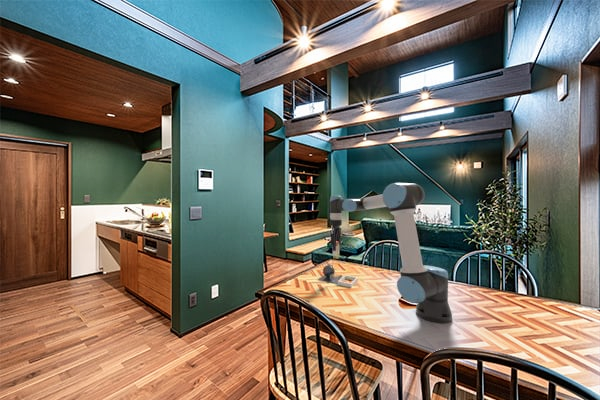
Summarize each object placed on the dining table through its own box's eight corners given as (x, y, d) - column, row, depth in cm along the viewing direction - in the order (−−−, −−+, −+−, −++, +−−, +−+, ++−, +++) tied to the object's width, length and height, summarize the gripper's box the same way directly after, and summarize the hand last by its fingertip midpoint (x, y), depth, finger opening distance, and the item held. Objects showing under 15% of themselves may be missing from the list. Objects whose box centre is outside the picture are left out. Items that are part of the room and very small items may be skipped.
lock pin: (337, 259, 156) (337, 242, 155) (332, 258, 157) (332, 241, 157) (339, 258, 158) (339, 241, 158) (334, 257, 160) (334, 240, 160)
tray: (351, 288, 147) (351, 283, 147) (337, 285, 152) (337, 281, 152) (358, 281, 158) (358, 277, 158) (345, 279, 163) (345, 275, 163)
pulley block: (338, 285, 152) (337, 271, 152) (317, 281, 160) (316, 268, 160) (345, 279, 163) (345, 266, 163) (325, 275, 171) (325, 263, 171)
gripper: (336, 220, 148) (336, 258, 149) (345, 218, 162) (345, 252, 163) (325, 220, 152) (325, 256, 153) (335, 217, 166) (335, 251, 167)
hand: (336, 254), depth 158 cm, fingers closed on lock pin, 3 cm apart
